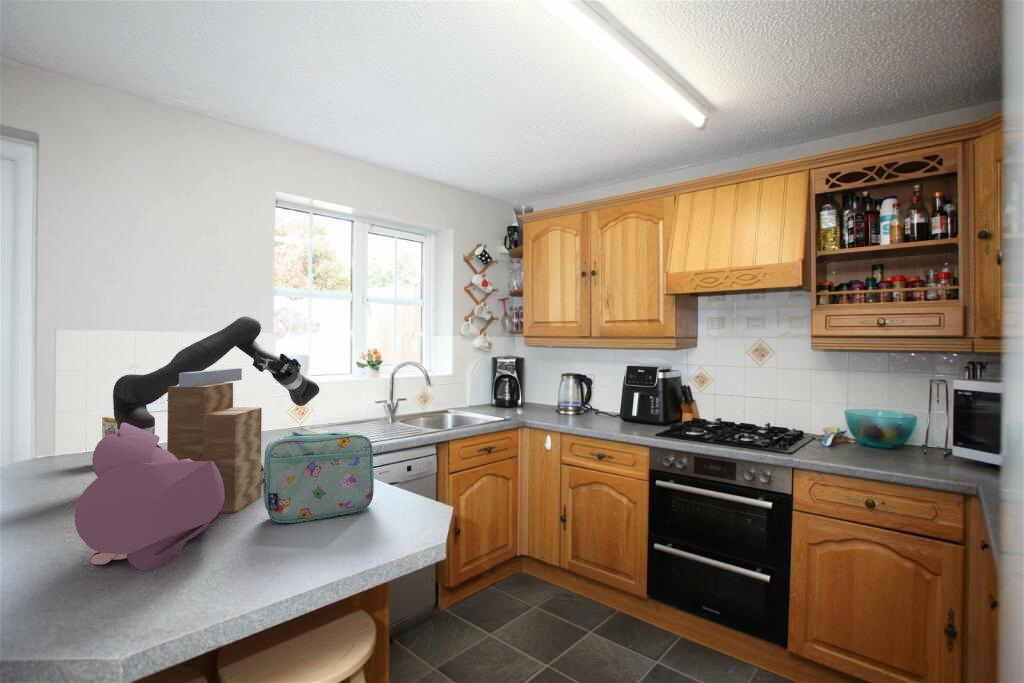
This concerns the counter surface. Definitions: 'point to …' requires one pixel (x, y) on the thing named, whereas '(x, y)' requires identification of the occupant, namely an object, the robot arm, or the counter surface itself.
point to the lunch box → (317, 476)
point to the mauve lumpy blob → (145, 500)
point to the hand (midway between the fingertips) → (268, 355)
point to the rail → (209, 377)
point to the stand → (218, 438)
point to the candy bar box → (108, 426)
